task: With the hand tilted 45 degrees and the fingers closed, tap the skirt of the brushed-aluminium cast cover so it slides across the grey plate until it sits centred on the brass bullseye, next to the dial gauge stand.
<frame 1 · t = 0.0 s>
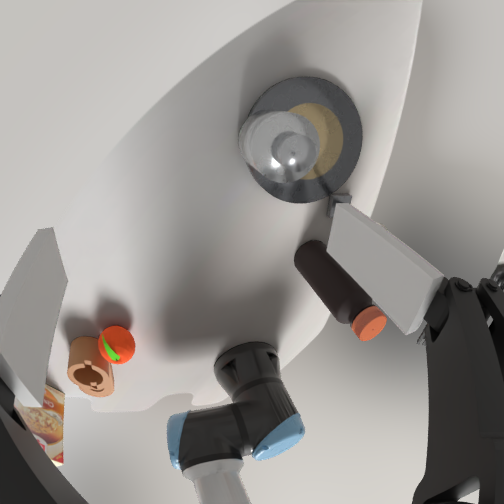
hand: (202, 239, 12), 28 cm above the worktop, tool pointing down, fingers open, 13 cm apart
clementine: (115, 328, 48), on the worktop
bottle: (309, 254, 53), on the worktop
cast cover: (269, 139, 38), point 1 cm above the worktop, touching grey plate
grey plate: (306, 140, 41), on the worktop
dial gauge stand: (337, 204, 49), on the worktop
coffeecake box: (35, 384, 48), on the worktop
bracket: (93, 363, 51), on the worktop
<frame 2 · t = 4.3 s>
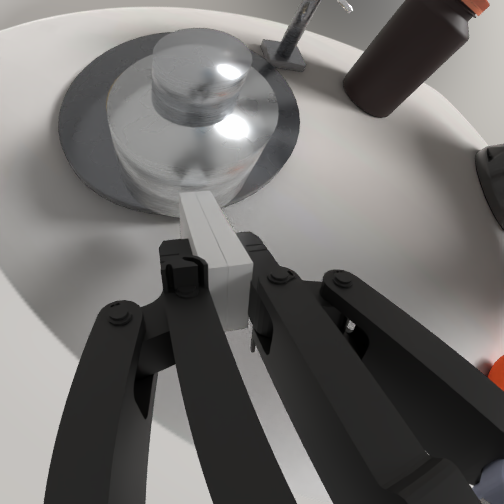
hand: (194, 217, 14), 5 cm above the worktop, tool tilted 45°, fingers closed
clementine: (486, 382, 24), on the worktop
bottle: (365, 97, 28), on the worktop
cast cover: (184, 156, 18), point 1 cm above the worktop, touching gripper
grey plate: (179, 103, 21), on the worktop
dial gauge stand: (281, 58, 26), on the worktop
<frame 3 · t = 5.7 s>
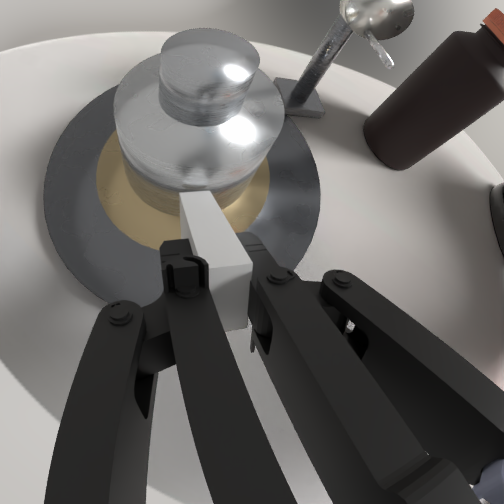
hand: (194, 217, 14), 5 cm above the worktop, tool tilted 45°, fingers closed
bottle: (386, 144, 27), on the worktop
cast cover: (189, 155, 19), point 1 cm above the worktop, touching gripper
grey plate: (182, 174, 19), on the worktop
dial gauge stand: (296, 100, 24), on the worktop
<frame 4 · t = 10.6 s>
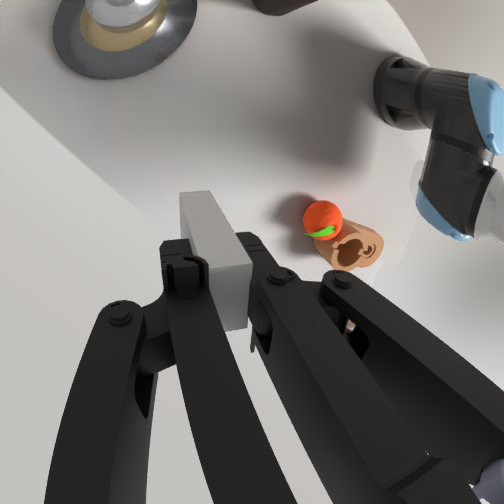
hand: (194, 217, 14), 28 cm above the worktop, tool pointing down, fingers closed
clementine: (310, 212, 52), on the worktop
cast cover: (126, 5, 24), point 1 cm above the worktop, touching grey plate
grey plate: (123, 14, 25), on the worktop
bracket: (346, 239, 59), on the worktop
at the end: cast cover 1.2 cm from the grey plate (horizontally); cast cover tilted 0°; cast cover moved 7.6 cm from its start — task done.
